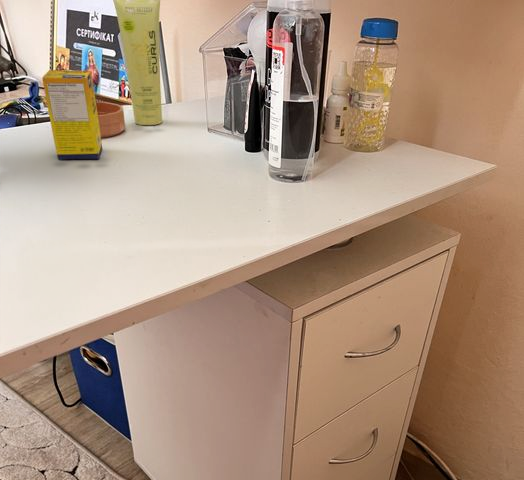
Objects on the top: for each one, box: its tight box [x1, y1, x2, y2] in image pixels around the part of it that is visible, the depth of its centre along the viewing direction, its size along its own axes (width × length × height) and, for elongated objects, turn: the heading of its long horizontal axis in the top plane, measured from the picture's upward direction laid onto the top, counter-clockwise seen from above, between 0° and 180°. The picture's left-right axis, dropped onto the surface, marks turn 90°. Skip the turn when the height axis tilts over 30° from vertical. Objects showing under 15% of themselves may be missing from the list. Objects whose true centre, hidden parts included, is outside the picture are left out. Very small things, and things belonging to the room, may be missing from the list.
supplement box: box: [41, 69, 103, 161], centre depth 76 cm, size 6×6×11 cm
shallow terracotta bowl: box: [96, 101, 126, 139], centre depth 89 cm, size 11×11×4 cm
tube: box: [112, 0, 163, 126], centre depth 90 cm, size 6×5×20 cm
